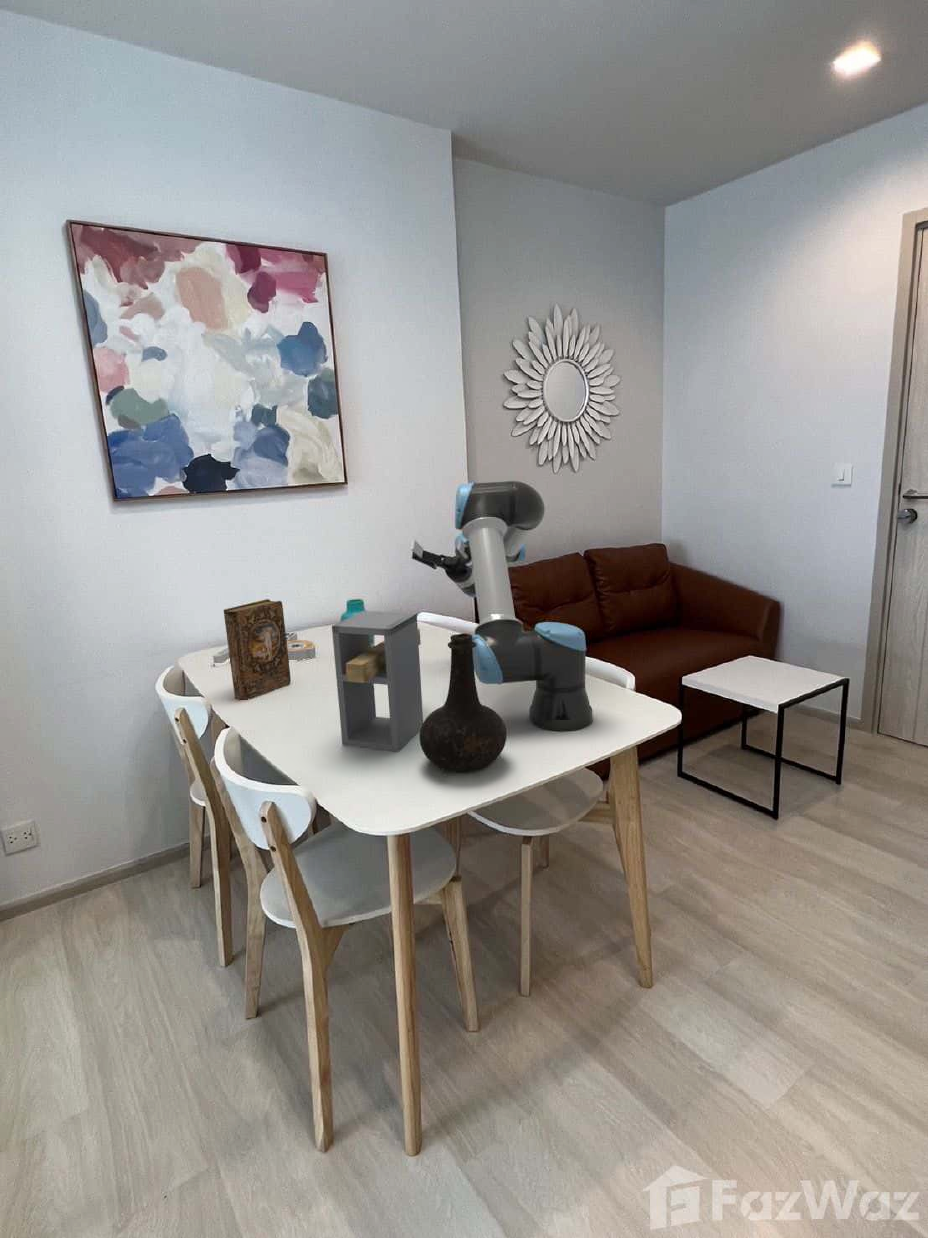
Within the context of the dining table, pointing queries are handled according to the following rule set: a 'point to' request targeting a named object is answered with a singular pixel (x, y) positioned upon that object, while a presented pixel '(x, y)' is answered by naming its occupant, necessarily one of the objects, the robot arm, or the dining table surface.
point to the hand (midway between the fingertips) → (435, 544)
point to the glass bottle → (462, 719)
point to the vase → (354, 608)
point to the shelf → (379, 680)
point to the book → (257, 648)
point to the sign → (294, 647)
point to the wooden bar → (368, 663)
